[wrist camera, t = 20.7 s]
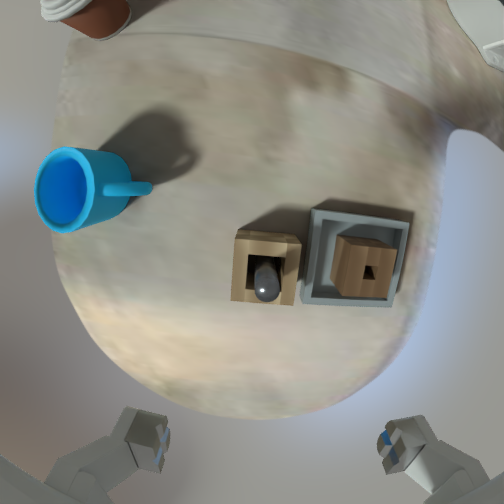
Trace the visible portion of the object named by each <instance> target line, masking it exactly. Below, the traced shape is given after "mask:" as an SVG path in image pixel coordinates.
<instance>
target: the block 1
mask: <svg viewBox="0 0 504 504" xmlns="http://www.w3.org/2000/svg"><path fill="white" fill-rule="evenodd" d="M301 247H302V244H301V243H300V241H299V240H298V239H297V237H296V236H295V234H287V233H276V232H265V231H254V230H242V229H238V231H237V234H236V237H235V243H234V257H233V271H232V286H231V301H240V302H252V303H264V304H277V305H292V306H293V303H294V297H295V290H296V283H297V276H298V269H299V262H300V254H301ZM248 254H252V255H264V256H276V257H280V259H279V268H278V275H277V277H278V282H279V287H280V294H279V296H278V297H277V298H276V299H275V300H274V301H272V302H263V301H260V300H259V299H258V298H257V297H256V295H255V273H249V272H247V266H248Z"/></svg>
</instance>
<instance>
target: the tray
mask: <svg viewBox="0 0 504 504" xmlns="http://www.w3.org/2000/svg"><path fill="white" fill-rule="evenodd" d="M408 229H409V223H408V222H405V221H402V220H397V219H390V218H384V217H377V216H370V215H363V214H356V213H348V212H341V211H333V210H325V209H316V208H311V216H310V224H309V232H308V240H307V248H306V255H305V263H304V270H303V277H302V283H301V290H300V298H301V301H302V304H314V305H334V306H359V307H392V304H393V300H394V296H395V292H396V288H397V284H398V280H399V275H400V271H401V266H402V262H403V257H404V252H405V246H406V241H407V235H408ZM336 235H346V236H355V237H364V238H372V239H378V240H380V241H382V242H384V243H386V244H388V245H389V246H391V247H393V248H395V249H397V254H396V259H395V264H394V268H393V273H392V278H391V282H390V286H389V290H388V294H387V298H379V297H355V296H342V295H341V294H340V292H339V291H338V289H337V288H336V287H335V285H334V284H333V282H332V281H331V280H330V273H331V268H332V262H333V255H334V249H335V242H336Z"/></svg>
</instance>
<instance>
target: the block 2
mask: <svg viewBox="0 0 504 504" xmlns="http://www.w3.org/2000/svg"><path fill="white" fill-rule="evenodd" d="M396 254H397V249H395V248H393V247H391V246H389V245H388V244H386V243H384V242H382V241H380V240H378V239H372V238H364V237H355V236H346V235H336V242H335V249H334V255H333V262H332V268H331V273H330V280H331V281H332V282H333V284H334V285H335V287H336V288H337V289H338V291H339V292H340V294H341V295H342V296H355V297H379V298H387V294H388V290H389V286H390V282H391V278H392V273H393V268H394V264H395V259H396Z"/></svg>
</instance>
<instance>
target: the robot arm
mask: <svg viewBox="0 0 504 504" xmlns="http://www.w3.org/2000/svg"><path fill="white" fill-rule="evenodd" d="M447 2H448V5H449V8H450V10H451V12H452V14H453V16H454V17H455V19H456V21H457V22H458V24H459V25H460V26H461V28H462V29H463V30H464V32H465V33H466V34H467V35H468V37H469V38H470V39H471V40H472V41H473V42H474V44H475V45H476V46H477V48H478V49H479V51H480V53H481V55H482V57H483V58H484V60H485V61H486V63H487V64H488V65H490V66H492V67H494V68H496V69H498V70H500V71H503V72H504V0H447ZM167 424H168V419H167V416H164V415H160V414H156V413H152V412H147V411H143V410H140V409H136V408H132V407H129V406H127V407H126V408H125V409H124V410H123V412H122V413H121V415H120V417H119V419H118V421H117V423H116V425H115V427H114V429H113V431H112V433H111V435H110V436H104V437H102V438H100V439H98V440H96V441H94V442H92V443H90V444H88V445H86V446H84V447H82V448H80V449H78V450H76V451H73V452H71V453H69V454H67V455H65V456H62V457H60V458H58V459H57V461H56V463H55V465H54V466H53V468H52V470H51V471H50V473H49V475H48V476H47V478H46V480H45V482H44V483H43V482H41V481H40V480H38V479H36V478H35V477H33V476H31V475H30V474H28V473H27V472H25V471H24V470H22V469H21V468H19V467H18V466H16V465H15V464H13V463H12V462H10V461H9V460H8V459H6V458H5V457H3V456H2V455H1V454H0V504H114V502H113V501H112V500H111V499H110V497H109V496H108V495H107V492H108V491H110V490H111V489H113V488H114V487H116V486H117V485H118V484H120V483H121V482H122V481H124V480H125V479H127V478H128V477H129V476H131V475H132V474H133V473H135V472H136V471H137V470H138V468H139V469H143V470H147V471H152V472H156V473H161V471H162V468H163V465H164V461H165V459H164V455H163V454H164V453H166V452H167V451H168V448H169V444H170V429H169V428H168V427H167ZM385 429H386V430H385V431H384V432H383V433H381V434H380V436H379V438H378V441H377V450H378V453H379V455H381V456H382V457H383V458H384V459H383V462H382V464H383V466H384V469H385V472H386V474H392V473H397V472H401V471H405V473H406V474H407V475H409V476H410V477H411V478H412V479H413V480H415V481H416V482H417V483H418V484H419V485H421V486H422V487H423V488H424V489H425V490H427V491H428V492H429V493H430V494H432V495H431V496H430V497H429V498H428V499H426V500H425V501H424V503H423V504H504V472H503V473H501V474H499V475H498V476H496V477H495V478H493V479H492V480H490V479H489V477H488V476H487V474H486V472H485V470H484V469H483V467H482V465H481V464H480V462H479V460H477V459H475V458H473V457H471V456H469V455H467V454H465V453H463V452H462V451H460V450H458V449H456V448H454V447H452V446H451V445H449V444H447V443H445V442H443V441H442V440H440V441H438V439H437V438H436V436H435V434H434V433H433V431H432V429H431V427H430V426H429V424H428V422H427V421H426V419H425V417H424V416H423V415H418V416H413V417H407V418H401V419H396V420H391V421H389V422H388V423H387V424H386V426H385Z"/></svg>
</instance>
